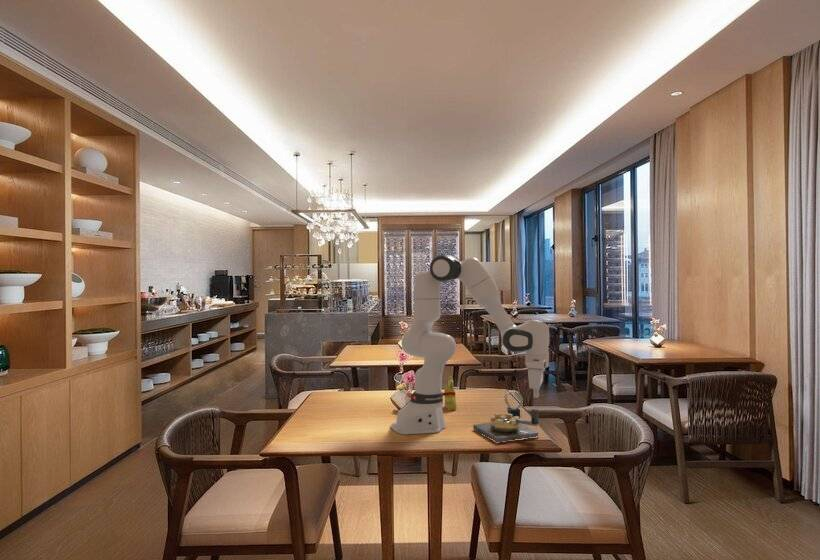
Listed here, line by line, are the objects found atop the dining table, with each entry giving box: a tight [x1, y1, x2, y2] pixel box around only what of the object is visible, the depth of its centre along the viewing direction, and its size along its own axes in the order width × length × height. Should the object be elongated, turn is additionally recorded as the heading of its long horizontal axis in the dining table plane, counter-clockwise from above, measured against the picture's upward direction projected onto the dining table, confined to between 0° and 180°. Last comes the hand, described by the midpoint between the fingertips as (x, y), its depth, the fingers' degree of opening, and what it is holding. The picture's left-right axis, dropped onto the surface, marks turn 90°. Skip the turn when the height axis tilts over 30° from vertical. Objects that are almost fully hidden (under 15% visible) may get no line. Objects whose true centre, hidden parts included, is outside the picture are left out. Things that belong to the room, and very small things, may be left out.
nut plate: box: [472, 421, 539, 442], centre depth 186 cm, size 18×18×2 cm
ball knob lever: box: [489, 408, 539, 432], centre depth 184 cm, size 19×11×9 cm, turn 57°
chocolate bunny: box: [443, 376, 457, 411], centre depth 224 cm, size 7×11×15 cm, turn 8°
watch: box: [504, 389, 524, 417], centre depth 211 cm, size 6×8×11 cm
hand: (536, 397), depth 185 cm, fingers closed
